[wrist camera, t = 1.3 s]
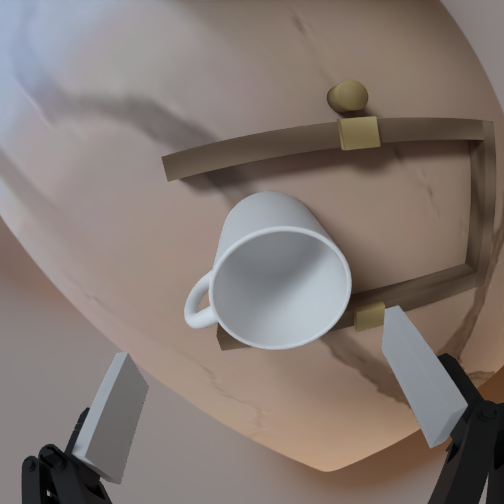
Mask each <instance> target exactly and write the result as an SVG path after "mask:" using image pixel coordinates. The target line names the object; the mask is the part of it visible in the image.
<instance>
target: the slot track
mask: <svg viewBox="0 0 504 504" xmlns="http://www.w3.org/2000/svg"><path fill="white" fill-rule="evenodd" d="M327 101H328V104H329V106H330V107H331V108H332V109H333V110H335V111H337V112H341V113H343V112H349V111H354V110H359V109H362V108H363V107H365V105H366V104H367V102H368V93H367V90H366V88H365V87H364V86H363V85H362V84H361V83H360V82H358V81H355V80H348V81H345V82H343V83H341V84H339V85H337V86H335V87H333V88H331V89H330V90H329V92H328V94H327ZM456 139H469V143H470V158H471V211H470V227H469V238H468V248H467V256H466V263H465V264H462V265H459V266H456V267H453V268H449V269H446V270H443V271H439V272H436V273H433V274H429V275H426V276H422V277H419V278H415V279H412V280H408V281H405V282H401V283H397V284H393V285H390V286H386V287H382V288H378V289H374V290H370V291H366V292H362V293H358V294H354V295H350V299H349V302H348V304H347V307H346V309H345V311H344V313H343V314H342V316H341V317H340V319H339V320H338V321H337V323H336V324H335V325H334V326H333V327H332V328H331V329H330V330H329V331H333V330H337V329H341V328H346V327H350V326H354V327H355V329H356V331H361V330H365V329H369V328H372V327H376V326H380V325H383V324H384V316H385V309H387V308H391V307H394V306H398V305H399V307H400V308H401V309H402V311H403V312H404V311H407V310H411V309H414V308H417V307H420V306H423V305H426V304H429V303H432V302H435V301H438V300H441V299H444V298H447V297H449V296H452V295H455V294H458V293H460V292H463V291H466V290H468V289H471V288H473V287H476V286H478V285H481V284H483V283H485V278H486V273H487V268H488V263H489V257H490V250H491V243H492V235H493V226H494V215H495V199H496V153H495V137H494V126H493V121H484V120H472V119H455V118H386V119H376V116H374V117H359V118H346V119H337V122H333V123H324V124H316V125H308V126H301V127H294V128H287V129H281V130H275V131H269V132H264V133H258V134H253V135H248V136H243V137H238V138H234V139H229V140H225V141H220V142H216V143H212V144H208V145H204V146H200V147H196V148H192V149H188V150H184V151H181V152H177V153H174V154H170V155H167V156H163V157H162V161H163V165H164V169H165V172H166V176H167V180H168V182H169V181H172V180H176V179H180V178H184V177H187V176H191V175H195V174H199V173H203V172H208V171H212V170H216V169H220V168H225V167H229V166H234V165H239V164H243V163H248V162H253V161H258V160H264V159H269V158H274V157H280V156H286V155H292V154H298V153H304V152H311V151H317V150H325V149H332V148H340V147H342V150H353V149H362V148H372V147H380V143H389V142H403V141H420V140H456ZM329 331H327V332H329ZM217 339H218V341H219V344H220V347H221V350H222V351H224V350H231V349H238V348H244V347H251V346H250V345H247V344H245V343H243V342H241V341H239V340H237V339H236V338H234V337H233V336H231V335H230V334H229V333H228V332H227V331H225V329H224V328H223V327H222V326H221V325H220V324H219V322H218V329H217Z"/></svg>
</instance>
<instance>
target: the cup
mask: <svg viewBox="0 0 504 504" xmlns="http://www.w3.org/2000/svg"><path fill="white" fill-rule="evenodd" d="M351 288H352V278H351V272H350V268H349V265H348V263H347V260H346V258H345V257H344V255H343V254H342V252H341V251H340V249H339V248H338V247H337V245H336V244H335V243H334V241H333V240H332V239H331V237H330V236H329V235H328V234H327V232H326V231H325V230H324V228H323V227H322V226H321V225H320V223H319V222H318V221H317V219H316V218H315V217H314V216H313V214H312V213H311V212H310V211H309V209H308V208H307V207H306V206H305V205H304V204H303V203H301V202H300V201H299V200H297V199H296V198H294V197H292V196H290V195H288V194H285V193H281V192H275V191H266V192H259V193H256V194H253V195H250V196H248V197H246V198H245V199H243V200H242V201H240V202H239V203H238V204H237V205H236V206H235V207H234V208H233V209H232V210H231V212H230V213H229V215H228V216H227V218H226V220H225V223H224V225H223V229H222V232H221V237H220V241H219V245H218V249H217V253H216V257H215V261H214V266H213V269H212V270H211V271H210V272H208V273H207V274H206V275H205V276H203V277H202V278H201V279H200V280H199V281H198V282H197V284H196V285H195V286H194V287H193V289H192V290H191V292H190V294H189V296H188V299H187V301H186V305H185V310H184V316H185V321H186V322H187V324H188V325H189V326H190V327H192V328H195V329H203V328H207V327H209V326H212V325H214V324H216V323H218V322H219V324H220V325H221V326H222V327H223V328H224V329H225V331H227V332H228V333H229V334H230V335H231V336H233V337H234V338H236V339H237V340H239V341H241V342H243V343H245V344H247V345H250V346H253V347H257V348H261V349H269V350H282V349H290V348H295V347H299V346H302V345H305V344H307V343H310V342H312V341H314V340H316V339H317V338H319V337H321V336H322V335H324V334H325V333H326V332H327V331H329V330H330V329H331V328H332V327H333V326H334V325H335V324H336V323H337V321H338V320H339V319H340V317H341V316H342V314H343V313H344V311H345V309H346V307H347V304H348V302H349V299H350V294H351ZM208 290H209V300H210V306H208V307H207V308H205V309H203V310H201V311H200V312H198V309H199V304H200V301H201V299H202V297H203V296H204V294H205V293H206V292H207V291H208Z"/></svg>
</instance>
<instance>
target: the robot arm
mask: <svg viewBox="0 0 504 504" xmlns="http://www.w3.org/2000/svg"><path fill="white" fill-rule="evenodd" d="M381 350H382V352H383V354H384V356H385V357H386V359H387V361H388V363H389V365H390V367H391V369H392V371H393V372H394V374H395V376H396V378H397V380H398V382H399V384H400V386H401V388H402V390H403V392H404V394H405V396H406V398H407V400H408V402H409V404H410V406H411V408H412V410H413V412H414V414H415V416H416V419H417V421H418V423H419V425H420V427H421V429H422V431H423V434H424V436H425V438H426V440H427V442H428V445H429V447H430V448H432V447H434V446H436V445H439V444H441V443H443V442H445V441H446V440H447V438H448V436H449V435H451V437H452V442H451V443H450V444H449V446H448V447H447V449H446V451H448V450H449V451H448V454H447V457H446V460H445V463H444V466H443V469H442V471H441V474H440V476H439V479H438V482H437V484H436V486H435V489H434V491H433V493H432V495H431V498H430V500H429V502H428V504H479V501H480V498H481V495H482V492H483V489H484V486H485V483H486V479H487V476H488V488H487V498H486V504H504V403H500V404H495V403H494V402H491V401H485V400H484V399H483V398H482V397H481V395H480V393H479V392H478V390H477V389H476V387H475V386H474V385H473V383H472V382H471V380H470V379H469V377H468V376H467V375H466V373H465V372H464V370H463V369H461V366H460V365H459V363H458V362H457V361H456V359H455V358H453V357H452V356H450V355H449V354H447V353H445V354H443V355H441V356H438V357H436V355H435V354H434V352H433V351H432V350H431V348H430V347H429V345H428V344H427V343H426V341H425V340H424V338H423V337H422V336H421V334H420V333H419V332H418V330H417V329H416V328H415V326H414V325H413V324H412V322H411V321H410V320H409V318H408V317H407V316H406V314H405V313H404V312H403V311H402V309H401V308H400V307H399V305H398V306H394V307H391V308H387V309H385V316H384V328H383V339H382V348H381ZM148 388H149V386H148V385H147V383H146V381H145V380H144V378H143V376H142V375H141V373H140V372H139V370H138V368H137V367H136V365H135V363H134V362H133V360H132V358H131V357H130V355H129V353H117V354H116V355H115V357H114V359H113V362H112V363H111V366H110V367H109V370H108V372H107V374H106V376H105V378H104V380H103V382H102V384H101V386H100V388H99V390H98V393H97V395H96V397H95V399H94V402H93V404H92V406H91V408H86V409H85V410H84V411H83V413H82V414H81V415H80V417H79V419H78V422H77V424H76V426H75V430H74V431H73V433H72V435H71V438H70V440H69V442H68V445H67V447H66V450H65V452H64V453H63V452H62V451H61V450H60V449H59V448H58V447H56V446H55V445H54V444H48V445H45V446H44V447H42V449H41V450H40V452H39V455H38V458H36V457H35V456H29V457H27V458H26V459H25V460H24V462H23V465H22V504H112V502H111V500H110V498H109V497H108V494H107V492H106V490H105V488H104V486H103V485H102V483H101V482H100V481H99V480H100V476H101V477H102V478H103V479H105V480H106V481H108V482H112V483H116V484H121V481H122V477H123V473H124V469H125V465H126V462H127V458H128V455H129V451H130V447H131V444H132V440H133V437H134V433H135V430H136V427H137V423H138V420H139V417H140V413H141V410H142V407H143V404H144V401H145V397H146V394H147V391H148ZM488 472H489V474H488ZM47 490H48V491H49V492H50V496H47Z"/></svg>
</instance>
